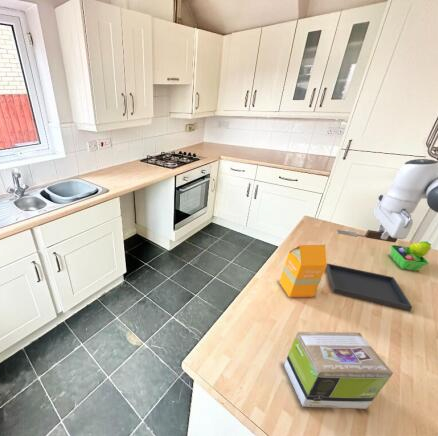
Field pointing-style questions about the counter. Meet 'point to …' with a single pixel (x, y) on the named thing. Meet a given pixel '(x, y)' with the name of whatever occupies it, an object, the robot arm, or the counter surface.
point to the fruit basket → (410, 255)
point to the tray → (367, 286)
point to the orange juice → (303, 270)
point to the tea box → (335, 370)
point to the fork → (369, 235)
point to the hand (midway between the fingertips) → (381, 236)
